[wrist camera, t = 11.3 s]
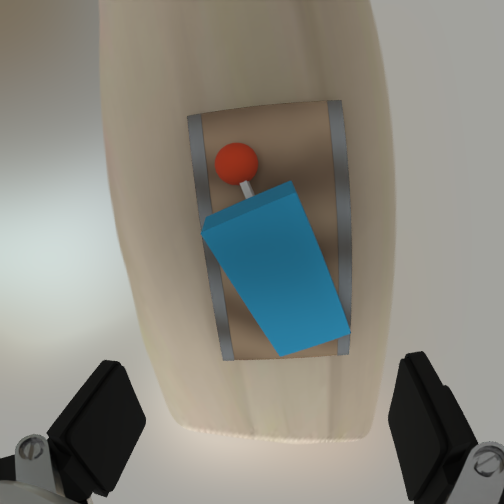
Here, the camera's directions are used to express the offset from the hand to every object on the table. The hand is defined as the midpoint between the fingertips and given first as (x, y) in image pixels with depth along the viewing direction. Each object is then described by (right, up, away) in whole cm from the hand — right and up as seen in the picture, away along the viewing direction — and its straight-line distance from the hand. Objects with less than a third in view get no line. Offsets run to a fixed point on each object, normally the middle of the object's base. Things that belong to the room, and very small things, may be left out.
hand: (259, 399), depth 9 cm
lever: (+2, +5, +18) cm, 19 cm away
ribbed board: (+2, +6, +19) cm, 20 cm away
